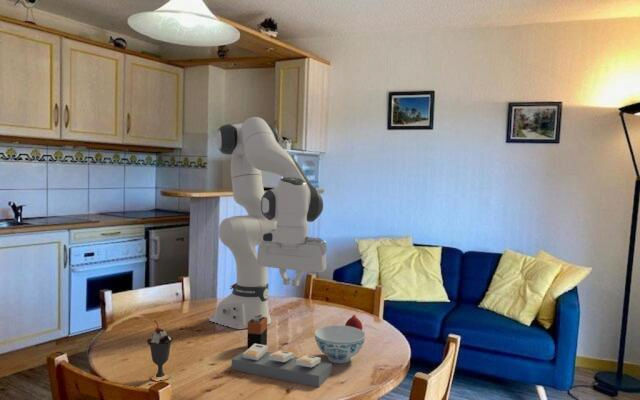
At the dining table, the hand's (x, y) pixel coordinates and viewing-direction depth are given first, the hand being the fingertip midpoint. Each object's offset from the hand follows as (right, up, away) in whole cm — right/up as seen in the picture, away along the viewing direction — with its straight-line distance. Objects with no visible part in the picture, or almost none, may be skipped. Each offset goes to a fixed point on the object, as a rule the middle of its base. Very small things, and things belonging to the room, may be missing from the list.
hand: (291, 284), depth 137 cm
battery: (-11, -22, +14) cm, 29 cm away
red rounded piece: (+19, -22, +25) cm, 39 cm away
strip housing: (-2, -23, -3) cm, 24 cm away
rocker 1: (-10, -19, -1) cm, 21 cm away
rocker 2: (-2, -19, -4) cm, 20 cm away
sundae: (-34, -23, -9) cm, 42 cm away
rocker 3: (+5, -20, -7) cm, 21 cm away
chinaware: (+14, -23, +7) cm, 28 cm away
